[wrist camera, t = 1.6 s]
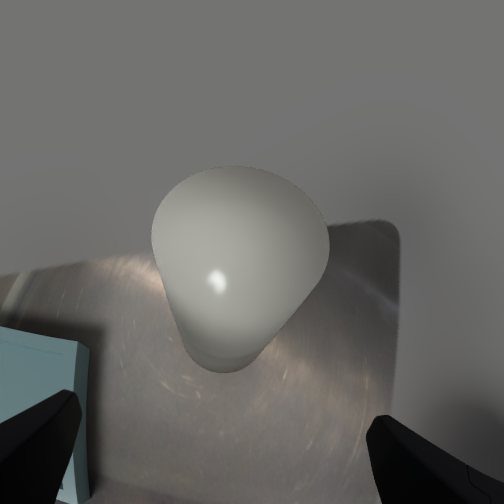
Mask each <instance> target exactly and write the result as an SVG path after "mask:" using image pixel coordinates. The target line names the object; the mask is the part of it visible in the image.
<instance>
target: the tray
mask: <svg viewBox="0 0 504 504" xmlns="http://www.w3.org/2000/svg"><path fill="white" fill-rule="evenodd" d="M89 357H90V349H89V348H87V347H86V346H84V345H82V344H81V343H79V342H78V341H71V340H65V339H59V338H53V337H48V336H43V335H37V334H32V333H28V332H23V331H18V330H14V329H10V328H5V327H1V326H0V423H1V422H3V421H5V420H7V419H9V418H11V417H13V416H15V415H17V414H18V413H20V412H22V411H24V410H26V409H28V408H30V407H32V406H33V405H35V404H37V403H39V402H41V401H43V400H44V399H46V398H48V397H50V396H52V395H54V394H55V393H57V392H59V391H61V390H63V389H67V390H70V391H73V392H75V393H76V394H77V395H78V399H79V402H80V405H81V409H82V420H81V423H80V427H79V430H78V434H77V438H76V441H75V445H74V449H73V453H72V456H71V459H70V462H69V465H68V467H67V470H66V473H65V475H64V478H63V481H62V483H61V486H60V489H59V492H58V495H57V498H56V499H58V500H61V501H64V502H67V503H70V504H82V503H84V502H86V501H87V500H89V499H90V491H89V481H88V468H87V448H86V403H87V382H88V368H89Z"/></svg>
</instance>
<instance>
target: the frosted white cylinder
mask: <svg viewBox="0 0 504 504" xmlns="http://www.w3.org/2000/svg"><path fill="white" fill-rule="evenodd" d="M151 235H152V247H153V252H154V256H155V259H156V263H157V266H158V270H159V273H160V276H161V279H162V283H163V286H164V289H165V292H166V295H167V298H168V301H169V304H170V307H171V310H172V313H173V316H174V319H175V322H176V325H177V328H178V330H179V333H180V336H181V339H182V342H183V344H184V347H185V349H186V351H187V353H188V354H189V356H190V357H191V358H192V359H193V361H195V362H196V363H197V364H198V365H199V366H201V367H203V368H205V369H207V370H209V371H212V372H217V373H231V372H236V371H239V370H241V369H243V368H245V367H247V366H248V365H249V364H251V363H252V362H253V361H254V360H255V359H256V357H257V356H258V355H259V354H260V353H261V352H262V351H263V349H264V348H265V347H266V346H267V345H268V344H269V342H270V341H271V340H272V339H273V338H274V337H275V335H276V334H277V333H278V332H279V331H280V329H281V328H282V327H283V326H284V325H285V323H286V322H287V321H288V320H289V319H290V317H291V316H292V315H293V314H294V312H295V311H296V310H297V309H298V308H299V306H300V305H301V304H302V303H303V301H304V300H305V299H306V298H307V296H308V295H309V294H310V292H311V291H312V290H313V289H314V287H315V286H316V285H317V283H318V282H319V281H320V279H321V277H322V275H323V273H324V271H325V269H326V266H327V263H328V258H329V251H330V242H329V234H328V230H327V227H326V224H325V221H324V219H323V217H322V215H321V213H320V211H319V210H318V208H317V207H316V205H315V204H314V203H313V201H312V200H311V199H310V198H309V197H308V196H307V195H306V194H305V193H304V192H303V191H302V190H301V189H299V188H298V187H297V186H295V185H294V184H292V183H291V182H289V181H288V180H286V179H284V178H282V177H280V176H278V175H275V174H273V173H271V172H268V171H264V170H261V169H256V168H252V167H243V166H226V167H218V168H212V169H209V170H205V171H202V172H200V173H197V174H195V175H192V176H190V177H189V178H187V179H185V180H183V181H182V182H181V183H179V184H178V185H177V186H176V187H174V188H173V189H172V190H171V191H170V192H169V193H168V194H167V196H166V197H165V198H164V199H163V201H162V202H161V204H160V206H159V207H158V210H157V212H156V215H155V218H154V221H153V225H152V234H151Z"/></svg>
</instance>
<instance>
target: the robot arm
mask: <svg viewBox="0 0 504 504" xmlns="http://www.w3.org/2000/svg"><path fill="white" fill-rule="evenodd" d="M81 420H82V409H81V405H80V402H79V399H78V395H77V394H76V393H75V392H73V391H70V390H67V389H63V390H61V391H59V392H57V393H55V394H54V395H52V396H50V397H48V398H46V399H44V400H43V401H41V402H39V403H37V404H35V405H33V406H32V407H30V408H28V409H26V410H24V411H22V412H20V413H18V414H17V415H15V416H13V417H11V418H9V419H7V420H5V421H3V422H1V423H0V504H55V501H56V498H57V495H58V492H59V489H60V486H61V483H62V481H63V478H64V475H65V473H66V470H67V467H68V465H69V462H70V459H71V456H72V453H73V449H74V445H75V441H76V438H77V434H78V430H79V427H80V423H81ZM366 442H367V447H368V451H369V456H370V462H371V467H372V472H373V476H374V480H375V483H376V486H377V489H378V492H379V496H380V499H381V502H382V504H504V482H501V481H499V480H496V479H494V478H492V477H490V476H487V475H485V474H483V473H481V472H480V471H478V470H476V469H474V468H472V467H470V466H469V465H466V464H465V463H464V462H462V461H460V460H459V459H457V458H455V457H453V456H452V455H450V454H449V453H447V452H445V451H444V450H442V449H440V448H439V447H437V446H436V445H434V444H432V443H431V442H429V441H428V440H426V439H424V438H423V437H421V436H420V435H418V434H417V433H415V432H414V431H412V430H410V429H409V428H407V427H406V426H404V425H403V424H401V423H400V422H398V421H397V420H395V419H394V418H392V417H391V416H389V415H381V416H377V417H375V418H374V420H373V422H372V424H371V426H370V428H369V429H368V431H367V434H366Z"/></svg>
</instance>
